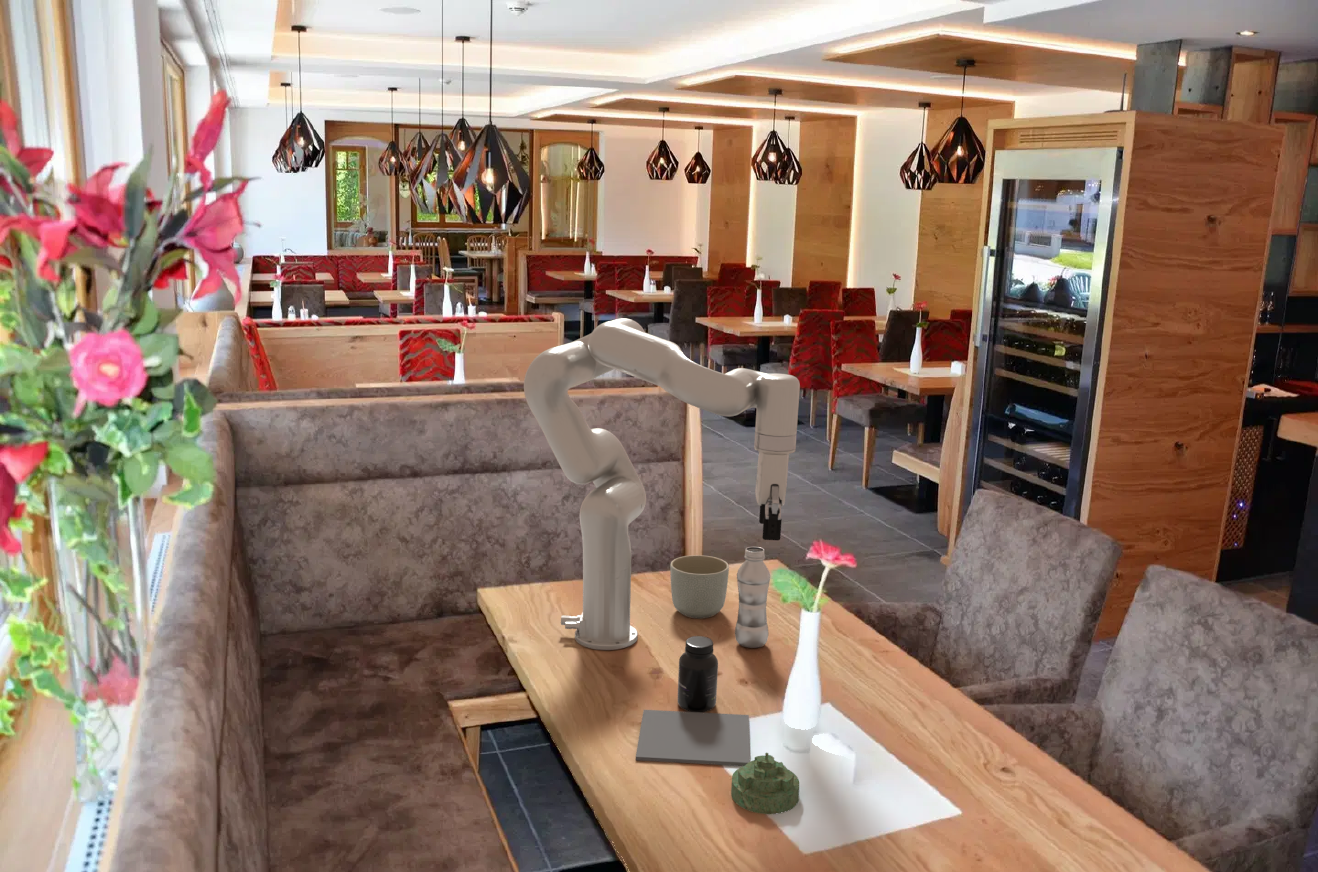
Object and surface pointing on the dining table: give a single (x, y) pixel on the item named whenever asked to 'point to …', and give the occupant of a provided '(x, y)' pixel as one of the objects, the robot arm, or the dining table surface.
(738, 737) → the mat
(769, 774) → the decorative artifact
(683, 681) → the supplement bottle
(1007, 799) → the dining table surface
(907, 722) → the dining table surface
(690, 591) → the planter
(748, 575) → the plastic bottle
